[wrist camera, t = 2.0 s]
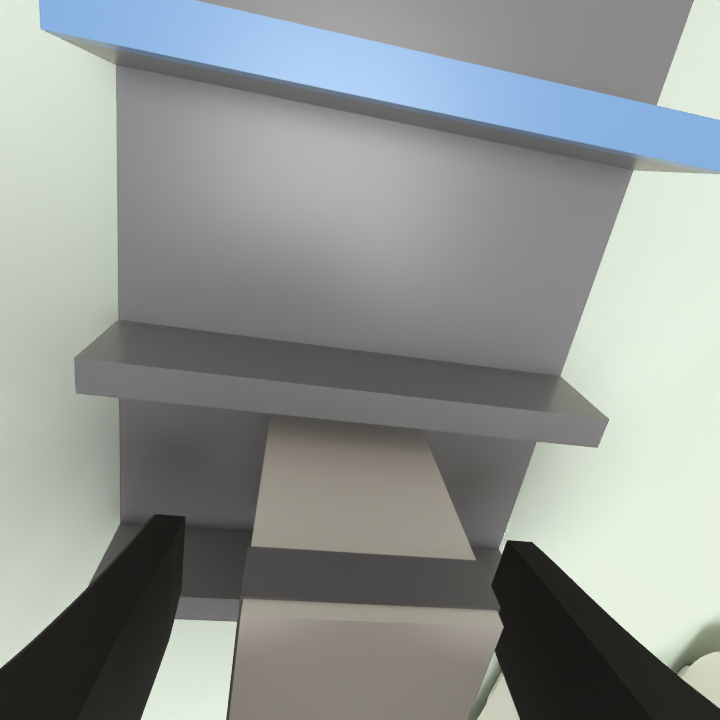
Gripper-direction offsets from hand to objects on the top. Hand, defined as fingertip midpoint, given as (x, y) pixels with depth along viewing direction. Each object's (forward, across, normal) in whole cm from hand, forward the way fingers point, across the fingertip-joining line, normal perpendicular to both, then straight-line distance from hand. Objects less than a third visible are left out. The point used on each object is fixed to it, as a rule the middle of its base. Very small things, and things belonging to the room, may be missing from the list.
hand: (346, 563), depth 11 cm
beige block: (+4, 0, 0) cm, 4 cm away
